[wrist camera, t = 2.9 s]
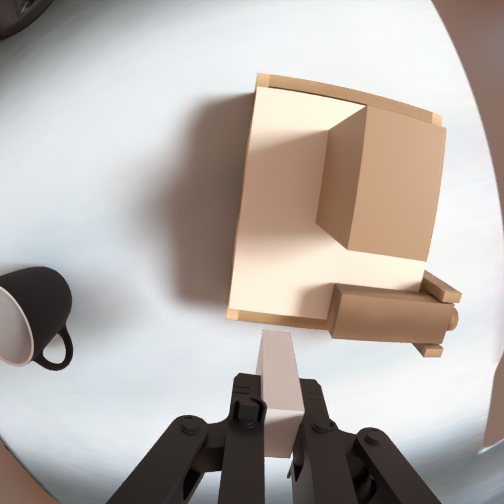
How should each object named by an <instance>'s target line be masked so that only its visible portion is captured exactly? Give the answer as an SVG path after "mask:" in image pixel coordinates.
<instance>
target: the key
mask: <svg viewBox="0 0 504 504" xmlns="http://www.w3.org/2000/svg"><path fill="white" fill-rule="evenodd" d="M457 323H458V312H457V310H456V309H455V308H454V304H453V303H451V302H442V301H441V300H439V299H438V298H437V297H435V296H434V295H433V294H431V293H422V292H413V291H403V290H394V289H385V288H376V287H367V286H358V285H350V284H341V283H335V284H334V289H333V294H332V299H331V303H330V308H329V312H328V316H327V321H326V326H327V328H328V330H329V333H330V335H331V337H332V338H334V339H347V340H362V341H379V342H401V343H435V344H442V342H443V339H444V336H445V333H446V331H452V330H454V329H455V328H456V326H457Z"/></svg>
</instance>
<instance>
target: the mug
mask: <svg viewBox="0 0 504 504" xmlns="http://www.w3.org/2000/svg"><path fill="white" fill-rule="evenodd" d="M71 306H72V296H71V292H70V289H69V286H68V284H67V282H66V281H65V279H64V278H63V277H62V276H61V275H60V274H59V273H58V272H56V271H55V270H53V269H50V268H47V267H32V268H27V269H22V270H18V271H15V272H12V273H9V274H6V275H3V276H0V359H1V360H3V361H4V362H6V363H8V364H10V365H13V366H18V367H20V366H24V365H26V364H28V363H29V362H30V361H35V362H36V363H38V364H39V365H41V366H42V367H44V368H46V369H49V370H53V371H58V370H62V369H64V368H65V367H67V366H68V365H69V363H70V362H71V360H72V356H73V345H72V341H71V338H70V336H69V333H68V331H67V328H66V320H67V318H68V316H69V314H70V311H71ZM57 333H58V334H60V336H61V337H62V339H63V341H64V344H65V348H66V356H65V359H64V361H63V362H62V363H59V364H55V363H52V362H50V361H48V360H47V359H45V357H44V356H43V350H44V348H45V347H46V346H47V345H48V343H49V342H50V341H51V340H52V339H53V338H54V336H55V335H56V334H57Z"/></svg>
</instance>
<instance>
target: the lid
mask: <svg viewBox="0 0 504 504" xmlns="http://www.w3.org/2000/svg"><path fill="white" fill-rule="evenodd" d="M445 139H446V128H444V127H441V126H438V125H435V124H432V123H429V122H426V121H423V120H420V119H416V118H413V117H410V116H407V115H403V114H400V113H396V112H393V111H389V110H386V109H382V108H378V107H374V106H370V105H367V106H364V105H360V104H355V103H351V102H346V101H342V100H337V99H332V98H327V97H322V96H317V95H311V94H306V93H300V92H294V91H287V90H281V89H274V88H266V87H258V86H257V92H256V99H255V106H254V113H253V120H252V128H251V135H250V142H249V150H248V157H247V165H246V172H245V180H244V188H243V195H242V203H241V211H240V219H239V227H238V235H237V243H236V251H235V259H234V268H233V276H232V284H231V293H230V302H229V308H231V309H238V310H246V311H254V312H262V313H270V314H278V315H287V316H296V317H305V318H315V319H325V320H327V316H328V312H329V308H330V303H331V299H332V294H333V289H334V284H335V283H341V284H350V285H358V286H367V287H376V288H385V289H394V290H403V291H413V292H419V289H420V285H421V281H422V277H423V273H424V269H425V265H426V261H427V257H428V252H429V248H430V243H431V238H432V233H433V228H434V223H435V217H436V211H437V205H438V199H439V192H440V185H441V178H442V169H443V161H444V151H445Z"/></svg>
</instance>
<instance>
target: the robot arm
mask: <svg viewBox="0 0 504 504" xmlns="http://www.w3.org/2000/svg"><path fill="white" fill-rule="evenodd" d="M52 1H53V0H0V36H1V37H4V36H9V35H12V34H14V33H16V32H18V31H20V30H22V29H23V28H25V27H26V26H28V25H29V24H30V23H31V22H33V21H34V20H35V19H36V18H37V17H38V16H39V15H40V14H41V13H42V12H43V11H44V10H45V9H46V8H47V7H48V6H49V5H50V4H51V2H52ZM292 451H293V461H292V463H291V466H290V469H289V472H288V475H287V478H290V476H291V478H292V491H293V504H441V502H440V501H439V500H438V499H437V497H436V496H435V495H434V494H433V492H432V491H431V490H430V489H429V487H428V486H427V485H426V484H425V482H424V481H423V480H422V479H421V477H420V476H419V475H418V474H417V472H416V471H415V470H414V469H413V467H412V466H411V465H410V464H409V462H408V461H407V460H406V459H405V457H404V456H403V455H402V453H401V452H400V451H399V450H398V448H397V447H396V446H395V445H394V443H393V442H392V441H391V440H390V438H389V437H388V436H387V435H386V434H385V433H384V432H383V431H381V430H379V429H377V428H372V427H370V428H364V429H361V430H360V431H359V432H358V433H357V435H356V434H352V433H347V432H344V431H341V430H339V429H338V427H337V425H336V423H335V422H334V421H332V420H331V419H329V415H328V411H327V407H326V404H325V400H324V396H323V392H322V389H321V386H320V385H319V384H318V382H317V381H316V380H315V379H301V378H299V376H298V370H297V365H296V359H295V354H294V348H293V343H292V338H291V333H288V332H279V331H271V330H263V331H262V337H261V344H260V350H259V356H258V362H257V368H256V375H253V374H244V373H239V374H238V375H237V376H236V377H235V378H234V382H233V389H232V397H231V404H230V412H229V415H228V417H227V418H226V419H225V420H223V421H221V422H218V423H212V424H207V423H206V422H205V421H204V420H203V419H201V418H199V417H197V416H192V415H183V416H180V417H177V418H176V419H175V420H174V421H173V422H172V423H171V424H170V425H169V427H168V428H167V429H166V431H165V432H164V433H163V434H162V436H161V437H160V438H159V439H158V441H157V442H156V443H155V444H154V446H153V447H152V448H151V449H150V451H149V452H148V453H147V454H146V456H145V457H144V458H143V459H142V461H141V462H140V463H139V464H138V465H137V467H136V468H135V469H134V470H133V472H132V473H131V474H130V475H129V476H128V478H127V479H126V480H125V481H124V482H123V484H122V485H121V486H120V487H119V488H118V490H117V491H116V492H115V493H114V494H113V496H112V497H111V498H110V499H109V500H108V502H107V503H106V504H188V502H189V500H190V499H191V497H192V495H193V493H194V492H195V490H196V488H197V486H198V485H199V483H200V481H201V479H202V478H203V476H204V473H205V472H215V471H222V473H221V481H220V488H219V496H218V504H265V477H264V457H276V458H290V456H291V453H292Z"/></svg>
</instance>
